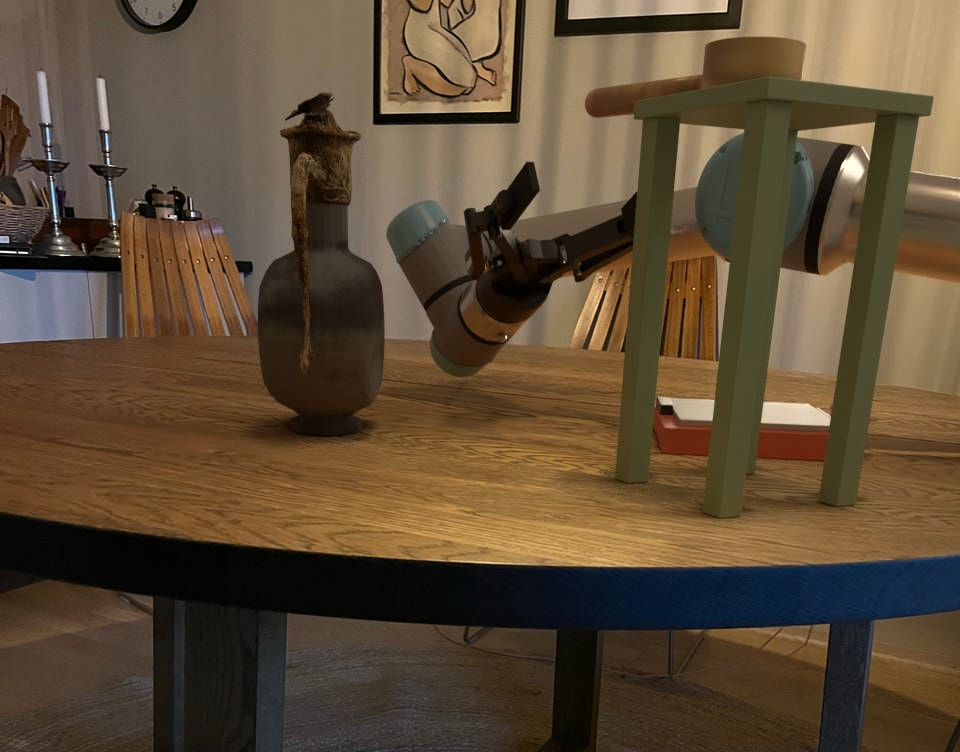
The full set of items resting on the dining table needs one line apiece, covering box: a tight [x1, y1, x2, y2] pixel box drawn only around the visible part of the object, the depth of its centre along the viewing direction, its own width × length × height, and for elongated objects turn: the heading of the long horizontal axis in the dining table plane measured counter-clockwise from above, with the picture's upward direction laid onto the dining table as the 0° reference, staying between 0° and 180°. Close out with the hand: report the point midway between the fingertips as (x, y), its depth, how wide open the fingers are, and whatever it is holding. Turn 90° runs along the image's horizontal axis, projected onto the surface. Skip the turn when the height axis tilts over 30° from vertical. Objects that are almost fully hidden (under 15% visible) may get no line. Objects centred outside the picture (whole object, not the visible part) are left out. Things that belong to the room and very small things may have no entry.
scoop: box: [584, 36, 807, 119], centre depth 79 cm, size 20×7×4 cm, turn 37°
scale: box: [653, 396, 831, 462], centre depth 104 cm, size 18×18×3 cm
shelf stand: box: [614, 76, 934, 519], centre depth 77 cm, size 15×14×28 cm
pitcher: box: [257, 91, 386, 437], centre depth 96 cm, size 11×19×30 cm, turn 178°
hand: (599, 179), depth 93 cm, fingers open, 13 cm apart
